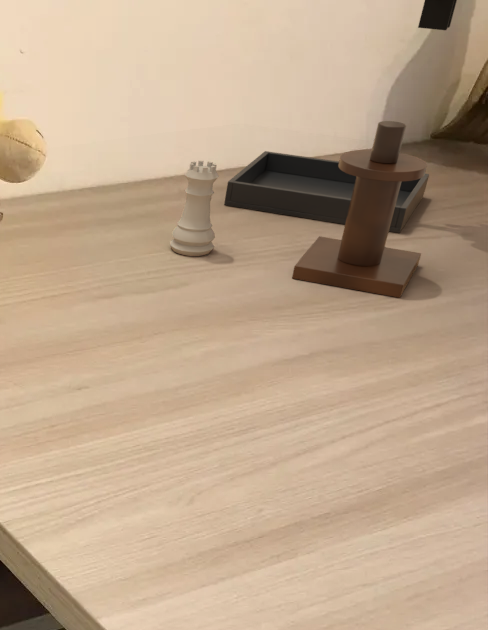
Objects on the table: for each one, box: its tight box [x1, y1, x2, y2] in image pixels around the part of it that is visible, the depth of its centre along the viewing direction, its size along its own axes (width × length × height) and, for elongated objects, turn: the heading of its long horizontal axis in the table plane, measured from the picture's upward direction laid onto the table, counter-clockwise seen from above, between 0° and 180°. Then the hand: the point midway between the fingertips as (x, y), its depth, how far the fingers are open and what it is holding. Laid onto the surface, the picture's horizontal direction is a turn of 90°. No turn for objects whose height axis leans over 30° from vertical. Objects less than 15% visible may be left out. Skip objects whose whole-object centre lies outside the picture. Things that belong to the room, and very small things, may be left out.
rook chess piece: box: [169, 160, 220, 257], centre depth 101 cm, size 4×4×8 cm
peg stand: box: [291, 120, 428, 299], centre depth 95 cm, size 10×10×13 cm
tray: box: [223, 150, 430, 234], centre depth 117 cm, size 19×15×2 cm
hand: (434, 26), depth 104 cm, fingers closed, pressing on hanging ring
